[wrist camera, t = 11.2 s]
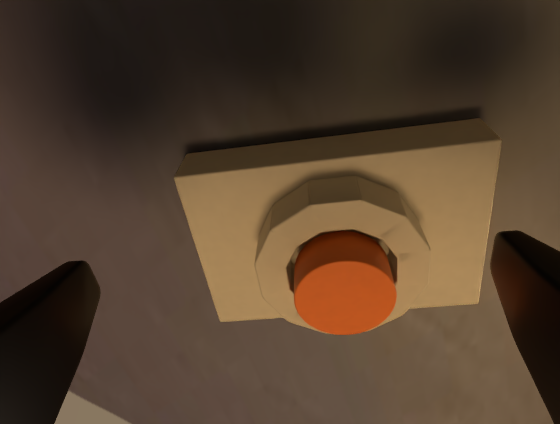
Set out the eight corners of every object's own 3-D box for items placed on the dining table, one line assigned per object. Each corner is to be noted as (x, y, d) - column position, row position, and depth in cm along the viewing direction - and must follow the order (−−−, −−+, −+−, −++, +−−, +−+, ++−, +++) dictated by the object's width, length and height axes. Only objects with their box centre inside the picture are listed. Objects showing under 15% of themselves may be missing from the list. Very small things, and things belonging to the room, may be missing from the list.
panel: (480, 117, 16) (526, 161, 13) (463, 271, 21) (494, 335, 17) (186, 153, 18) (158, 202, 14) (226, 290, 22) (213, 353, 19)
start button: (388, 225, 15) (397, 256, 13) (388, 298, 17) (397, 332, 15) (288, 235, 15) (287, 266, 14) (300, 304, 17) (300, 338, 16)
